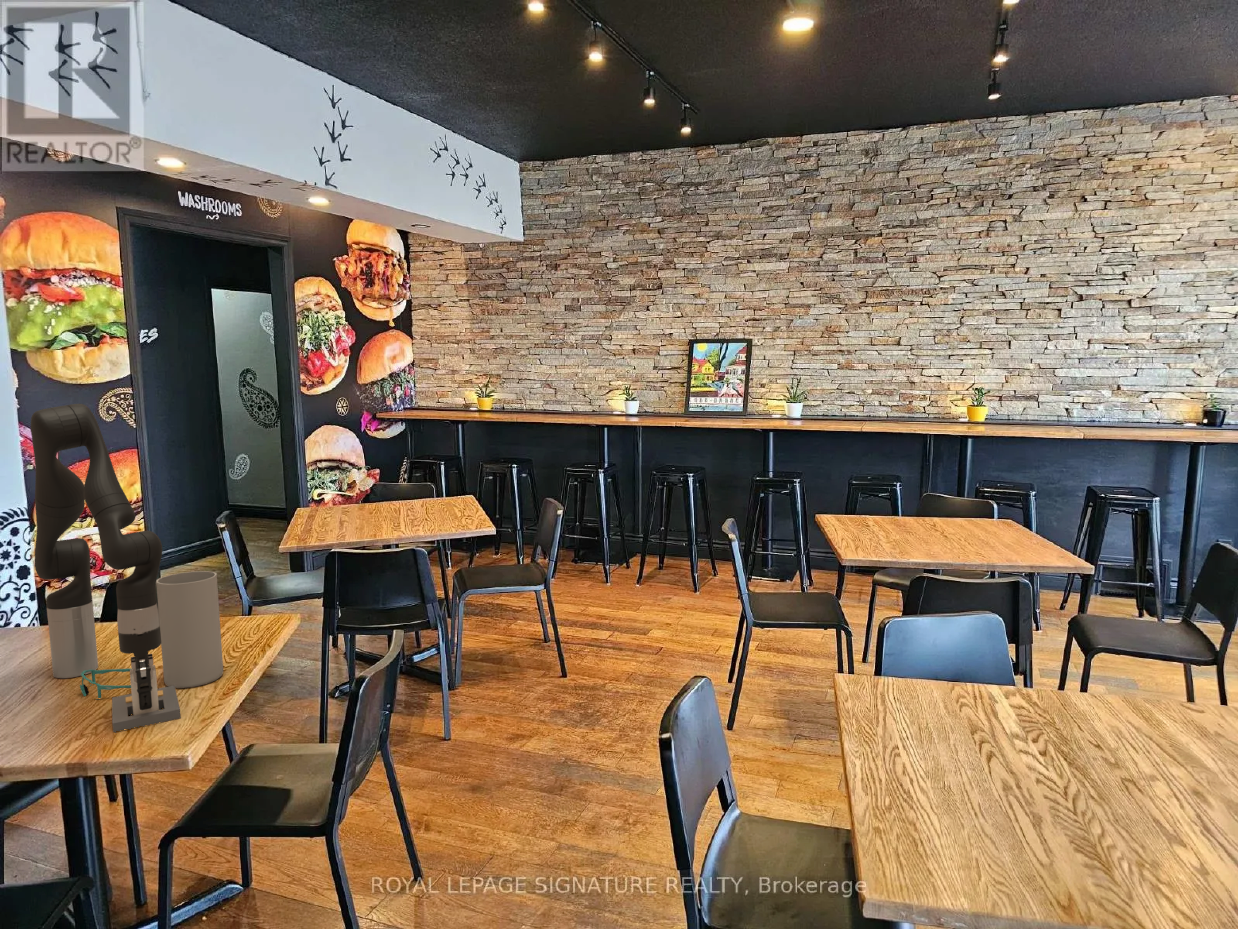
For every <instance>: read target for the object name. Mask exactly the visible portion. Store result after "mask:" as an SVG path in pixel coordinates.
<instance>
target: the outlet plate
mask: <svg viewBox="0 0 1238 929" xmlns="http://www.w3.org/2000/svg"><path fill="white" fill-rule="evenodd" d="M176 689H177V688H175V685H173V686H164V687H159V688H158V687H157V691H158V704H159V710H158V711H153V712H148V713H143V714H139V715H131V714H133V704H132V693H129V694H124V695H119V696H113V697H112V698H111V707H112V708H111V712H112V713H111V716H112V718H111V719H112V720H111V721H112V733H113V732H115V733H117V732H116V731H120V730H124V729H129V730H132V729H131V728H134V727H138V728H140V727H139V726H143V727H146V726H145V725H147V726H151V725H150V724H152V725H155V723H156V724H160V723H159V722H161V723H164V722H165V721H166V722H169V720H170V721H174V719H175V720H179V719H181V718H182V717H181V708H180V703H179V699H178V694H177V690H176ZM161 708H163V709H161ZM128 715H130V716H128ZM166 722H165V723H166ZM134 729H135V728H134ZM124 731H125V730H124ZM120 732H121V731H120Z"/></svg>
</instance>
